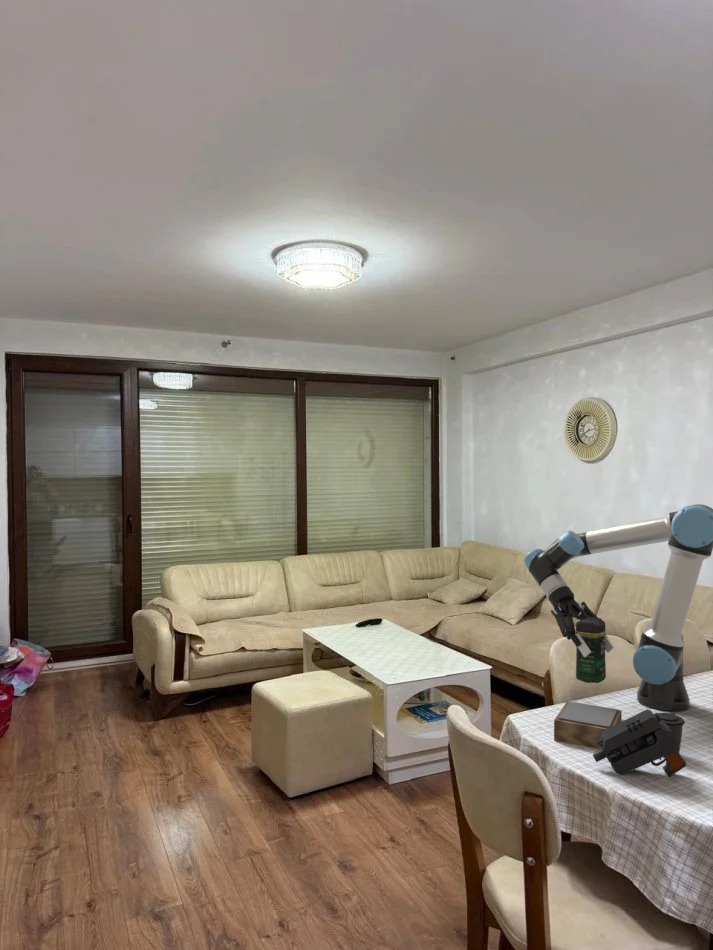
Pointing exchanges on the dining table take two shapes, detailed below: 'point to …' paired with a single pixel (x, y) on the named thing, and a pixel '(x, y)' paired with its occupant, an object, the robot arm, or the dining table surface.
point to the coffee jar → (594, 637)
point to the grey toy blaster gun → (640, 744)
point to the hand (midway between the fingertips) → (599, 652)
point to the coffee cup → (673, 725)
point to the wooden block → (584, 723)
